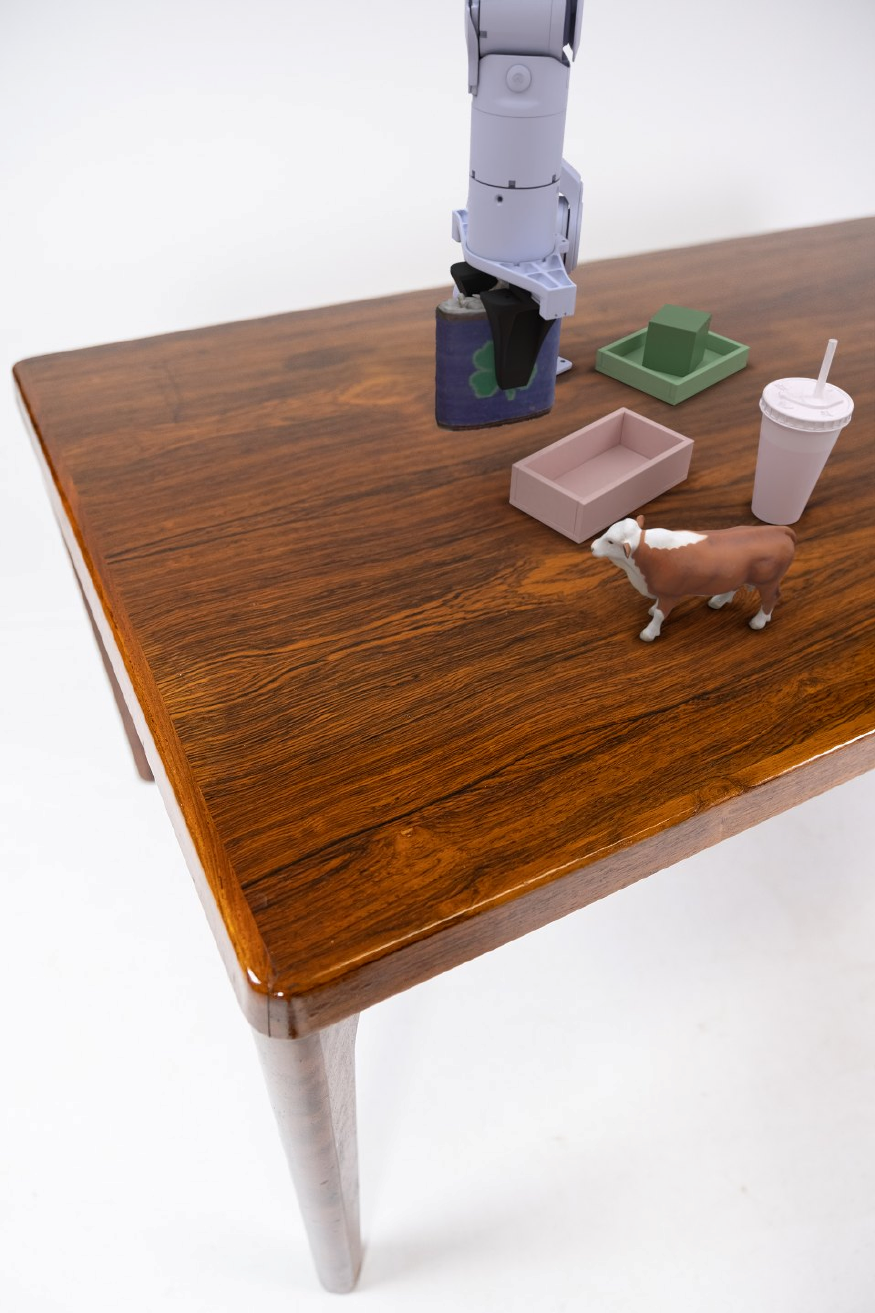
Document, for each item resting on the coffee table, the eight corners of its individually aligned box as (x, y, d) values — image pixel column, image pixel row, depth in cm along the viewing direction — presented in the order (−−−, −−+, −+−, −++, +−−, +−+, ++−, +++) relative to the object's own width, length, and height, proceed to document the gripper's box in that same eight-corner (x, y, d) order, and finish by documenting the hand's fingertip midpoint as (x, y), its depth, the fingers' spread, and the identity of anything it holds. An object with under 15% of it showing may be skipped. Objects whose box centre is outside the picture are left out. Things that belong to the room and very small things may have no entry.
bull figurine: (577, 604, 70) (591, 505, 64) (767, 595, 71) (796, 497, 65) (590, 646, 67) (605, 546, 61) (788, 637, 68) (821, 537, 62)
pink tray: (508, 503, 79) (511, 464, 76) (617, 443, 85) (623, 406, 83) (579, 544, 75) (584, 504, 73) (686, 478, 82) (695, 440, 79)
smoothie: (821, 540, 76) (879, 366, 66) (733, 529, 77) (778, 356, 67) (815, 493, 80) (868, 324, 71) (733, 483, 81) (774, 315, 72)
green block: (641, 367, 95) (648, 320, 92) (657, 348, 98) (665, 302, 94) (687, 378, 93) (696, 332, 90) (702, 359, 96) (712, 313, 93)
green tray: (594, 369, 95) (597, 349, 94) (667, 334, 101) (671, 315, 100) (673, 405, 90) (677, 385, 89) (745, 366, 96) (750, 346, 95)
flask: (545, 398, 77) (559, 257, 69) (561, 417, 75) (576, 275, 67) (429, 417, 74) (430, 274, 67) (442, 437, 72) (444, 293, 65)
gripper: (630, 203, 59) (602, 411, 69) (520, 134, 69) (508, 324, 78) (523, 219, 57) (508, 431, 67) (424, 145, 67) (424, 339, 76)
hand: (502, 375), depth 72 cm, fingers closed on flask, 3 cm apart
